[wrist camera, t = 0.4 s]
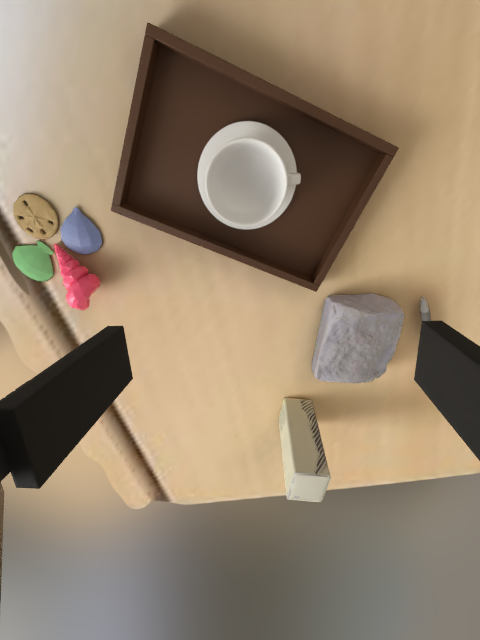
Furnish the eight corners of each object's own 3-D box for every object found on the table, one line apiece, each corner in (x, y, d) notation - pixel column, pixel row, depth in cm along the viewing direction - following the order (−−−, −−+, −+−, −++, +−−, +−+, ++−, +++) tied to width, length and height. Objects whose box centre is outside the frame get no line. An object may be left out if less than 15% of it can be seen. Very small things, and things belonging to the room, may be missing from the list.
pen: (427, 378, 45) (432, 385, 44) (414, 294, 39) (420, 299, 38) (435, 376, 45) (440, 383, 44) (423, 291, 39) (429, 296, 38)
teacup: (205, 231, 35) (199, 243, 31) (191, 126, 31) (182, 124, 27) (296, 224, 35) (302, 236, 31) (296, 116, 30) (304, 113, 26)
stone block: (393, 287, 40) (318, 291, 39) (418, 306, 36) (335, 311, 35) (369, 361, 47) (304, 367, 45) (388, 384, 43) (317, 392, 41)
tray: (154, 30, 27) (147, 21, 25) (389, 147, 31) (399, 147, 29) (118, 206, 35) (110, 210, 33) (313, 284, 39) (316, 292, 37)
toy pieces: (130, 242, 37) (116, 255, 33) (89, 311, 41) (73, 328, 37) (27, 172, 33) (-2, 177, 29) (-6, 255, 38) (-34, 268, 34)
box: (305, 423, 50) (321, 505, 39) (277, 420, 50) (285, 502, 39) (312, 397, 47) (332, 477, 36) (283, 394, 47) (294, 474, 36)
